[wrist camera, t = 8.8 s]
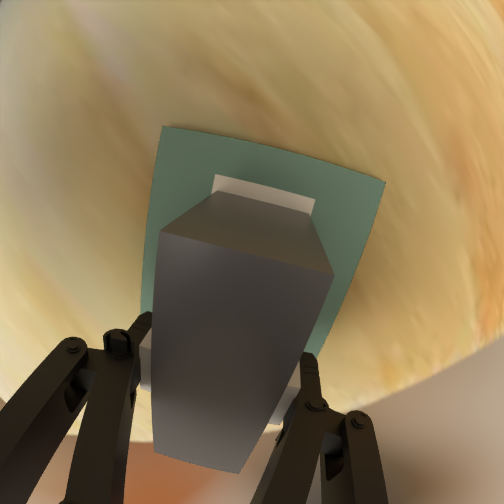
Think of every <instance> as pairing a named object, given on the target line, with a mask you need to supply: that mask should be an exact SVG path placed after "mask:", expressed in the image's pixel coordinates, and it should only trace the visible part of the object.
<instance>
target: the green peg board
mask: <svg viewBox="0 0 504 504" xmlns="http://www.w3.org/2000/svg"><path fill="white" fill-rule="evenodd" d="M385 184H386V182H384V181H381V180H379V179H376V178H373V177H370V176H367V175H365V174H362V173H359V172H356V171H353V170H350V169H347V168H344V167H341V166H338V165H335V164H331V163H328V162H325V161H322V160H318V159H315V158H311V157H308V156H304V155H301V154H297V153H294V152H290V151H286V150H282V149H278V148H274V147H270V146H266V145H262V144H258V143H254V142H249V141H245V140H240V139H235V138H230V137H225V136H220V135H215V134H210V133H204V132H198V131H192V130H186V129H180V128H173V127H166V126H163V127H162V132H161V136H160V141H159V147H158V152H157V157H156V163H155V169H154V175H153V181H152V188H151V194H150V202H149V209H148V217H147V226H146V236H145V246H144V258H143V271H142V289H141V314H142V313H144V312H146V311H150V312H152V308H153V292H154V279H155V267H156V257H157V247H158V238H159V231H160V230H161V229H162V228H164V227H165V226H167V225H168V224H169V223H171V222H172V221H174V220H175V219H176V218H178V217H179V216H181V215H182V214H183V213H185V212H186V211H188V210H189V209H191V208H192V207H194V206H195V205H196V204H198V203H199V202H201V201H202V200H204V199H205V198H207V197H208V196H210V195H211V194H213V193H214V192H216V191H222V192H226V193H230V194H235V195H239V196H243V197H247V198H251V199H255V200H259V201H263V202H267V203H271V204H275V205H279V206H283V207H286V208H290V209H294V210H298V211H301V212H305V213H309V215H310V217H311V220H312V222H313V224H314V226H315V229H316V231H317V233H318V236H319V238H320V240H321V243H322V245H323V248H324V250H325V252H326V255H327V257H328V260H329V262H330V265H331V267H332V270H333V272H334V275H335V276H334V279H333V281H332V284H331V287H330V289H329V292H328V294H327V297H326V299H325V302H324V304H323V307H322V309H321V312H320V314H319V316H318V319H317V321H316V324H315V326H314V328H313V331H312V333H311V335H310V337H309V340H308V342H307V344H306V347H305V349H304V352H309V353H313V355H314V356H315V358H317V356H318V354H319V352H320V350H321V348H322V346H323V344H324V342H325V340H326V338H327V336H328V334H329V331H330V329H331V327H332V325H333V323H334V321H335V318H336V316H337V314H338V312H339V309H340V307H341V305H342V302H343V300H344V298H345V295H346V293H347V291H348V288H349V286H350V283H351V281H352V278H353V276H354V273H355V271H356V268H357V266H358V263H359V261H360V258H361V255H362V253H363V250H364V247H365V244H366V242H367V239H368V236H369V233H370V230H371V227H372V225H373V222H374V219H375V216H376V213H377V209H378V206H379V203H380V200H381V197H382V194H383V190H384V187H385Z"/></svg>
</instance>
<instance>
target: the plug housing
mask: <svg viewBox="0 0 504 504" xmlns="http://www.w3.org/2000/svg"><path fill="white" fill-rule="evenodd" d="M334 276H335V275H334V272H333V270H332V267H331V265H330V262H329V260H328V257H327V255H326V252H325V250H324V248H323V245H322V243H321V240H320V238H319V236H318V233H317V231H316V229H315V226H314V224H313V222H312V220H311V217H310V215H309V213H305V212H301V211H298V210H294V209H290V208H286V207H283V206H279V205H275V204H271V203H267V202H263V201H259V200H255V199H251V198H247V197H243V196H239V195H235V194H230V193H226V192H222V191H216V192H214V193H213V194H211V195H210V196H208V197H207V198H205V199H204V200H202V201H201V202H199V203H198V204H196V205H195V206H194V207H192V208H191V209H189V210H188V211H186V212H185V213H183V214H182V215H181V216H179V217H178V218H176V219H175V220H174V221H172V222H171V223H169V224H168V225H167V226H165V227H164V228H162V229H161V230H160V231H159V238H158V247H157V257H156V267H155V279H154V292H153V308H152V330H151V407H152V428H153V442H154V452H156V453H159V454H163V455H165V456H168V457H172V458H175V459H178V460H181V461H185V462H188V463H192V464H196V465H200V466H204V467H208V468H212V469H217V470H221V471H226V472H231V473H237V474H239V473H240V471H241V469H242V468H243V466H244V464H245V463H246V461H247V459H248V458H249V456H250V454H251V452H252V451H253V449H254V447H255V445H256V444H257V442H258V440H259V438H260V437H261V435H262V433H263V431H264V429H265V428H266V426H267V424H268V422H269V420H270V418H271V416H272V414H273V413H274V411H275V409H276V407H277V405H278V403H279V401H280V399H281V397H282V395H283V393H284V391H285V389H286V387H287V385H288V383H289V381H290V379H291V377H292V375H293V373H294V370H295V368H296V366H297V364H298V362H299V360H300V358H301V355H302V353H303V351H304V349H305V347H306V344H307V342H308V340H309V337H310V335H311V333H312V331H313V328H314V326H315V324H316V321H317V319H318V316H319V314H320V312H321V309H322V307H323V304H324V302H325V299H326V297H327V294H328V292H329V289H330V287H331V284H332V281H333V279H334Z"/></svg>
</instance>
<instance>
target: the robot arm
mask: <svg viewBox="0 0 504 504" xmlns="http://www.w3.org/2000/svg"><path fill="white" fill-rule="evenodd" d="M151 330H152V312H150V311H146V312H144V313H142V314H141V315H139V316H138V318H137V319H136V320H135V322H134V323H133V324H132V325H131V327H130V328H129V329H128V331H126V330H123V329H112V330H109V331H107V332H106V333H105V334H104V335H103V342H104V350H99V349H92V348H87V344H86V342H85V341H84V340H82V339H81V338H78V337H68V338H65V339H64V340H62V341H61V342H60V343H59V344H58V345H57V346H56V348H55V349H54V350H53V351H52V352H51V353H50V354H49V355H48V356H47V357H46V358H45V359H44V361H43V362H42V363H41V364H40V365H39V366H38V367H37V368H36V369H35V371H34V372H33V373H32V374H31V375H30V376H29V377H28V378H27V380H26V381H25V382H24V383H23V384H22V385H21V387H20V388H19V389H18V390H17V391H16V393H15V394H14V395H13V396H12V397H11V399H10V400H9V401H8V402H7V403H6V405H5V406H4V407H3V409H2V410H1V411H0V504H26V503H27V501H28V499H29V497H30V496H31V494H32V492H33V490H34V488H35V486H36V485H37V483H38V481H39V479H40V477H41V476H42V474H43V472H44V470H45V469H46V467H47V465H48V463H49V462H50V460H51V458H52V456H53V455H54V453H55V452H56V450H57V448H58V447H59V445H60V443H61V442H62V440H63V438H64V437H65V435H66V434H67V432H68V430H69V429H70V427H71V426H72V424H73V422H74V421H75V419H76V418H77V416H78V415H79V413H80V411H81V410H82V408H83V407H84V405H85V404H86V402H87V401H88V402H87V405H86V408H85V412H84V415H83V419H82V422H81V426H80V430H79V434H78V438H77V442H76V446H75V450H74V454H73V459H72V463H71V468H70V473H69V479H68V483H67V489H66V495H65V498H64V500H63V501H61V502H60V503H59V504H123V500H124V487H125V486H124V485H125V475H126V465H127V455H128V448H129V440H130V433H131V426H132V419H133V413H134V407H135V401H136V395H137V394H136V388H137V386H138V384H139V383H140V387H141V389H144V390H146V391H149V392H151ZM282 420H283V428H282V430H281V432H280V433H279V435H278V436H277V438H276V441H277V442H276V444H275V447H274V449H273V452H272V454H271V457H270V459H269V462H268V464H267V466H266V469H265V471H264V474H263V476H262V478H261V480H260V483H259V485H258V487H257V489H256V492H255V494H254V496H253V498H252V500H251V503H250V504H306V500H307V497H308V494H309V491H310V487H311V484H312V480H313V476H314V472H315V469H316V464H317V461H318V456H319V453H320V467H321V496H322V504H388V498H387V492H386V486H385V480H384V475H383V470H382V465H381V460H380V455H379V450H378V445H377V441H376V436H375V432H374V427H373V424H372V421H371V419H370V417H369V416H368V415H367V414H365V413H364V412H361V411H357V410H355V411H350V412H348V413H347V415H344V414H341V413H339V412H336V411H334V410H332V409H330V408H329V405H328V403H327V402H326V400H325V399H323V398H322V394H321V386H320V378H319V370H318V362H317V359H316V358H315V356H314V355H313V353H309V352H304V351H303V353H302V355H301V358H300V360H299V362H298V364H297V366H296V368H295V370H294V373H293V375H292V377H291V379H290V381H289V383H288V385H287V387H286V389H285V391H284V393H283V395H282V397H281V399H280V401H279V403H278V405H277V407H276V409H275V411H274V413H273V414H272V416H271V418H270V420H269V422H268V423H270V424H276V425H280V424H281V422H282Z"/></svg>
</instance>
